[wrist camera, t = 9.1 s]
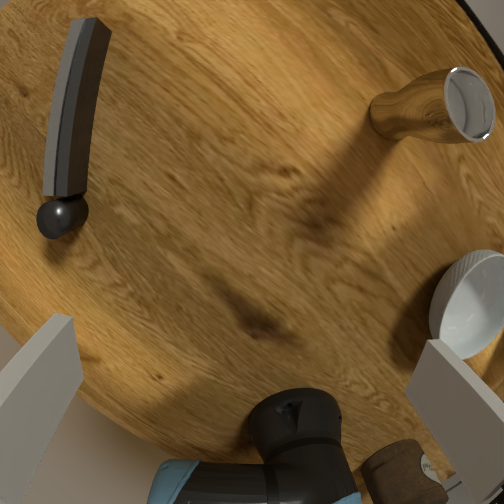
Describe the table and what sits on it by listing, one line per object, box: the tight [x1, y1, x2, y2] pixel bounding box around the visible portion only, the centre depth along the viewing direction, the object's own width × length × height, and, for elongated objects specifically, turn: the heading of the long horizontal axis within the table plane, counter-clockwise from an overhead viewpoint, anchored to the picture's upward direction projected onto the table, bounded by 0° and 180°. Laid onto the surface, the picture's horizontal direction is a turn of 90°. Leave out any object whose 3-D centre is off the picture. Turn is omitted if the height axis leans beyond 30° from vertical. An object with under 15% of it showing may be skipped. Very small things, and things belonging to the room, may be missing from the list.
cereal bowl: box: [429, 250, 504, 360], centre depth 37 cm, size 17×17×7 cm
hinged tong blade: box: [43, 18, 85, 196], centre depth 27 cm, size 20×2×5 cm, turn 171°
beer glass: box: [370, 66, 496, 144], centre depth 25 cm, size 7×7×15 cm
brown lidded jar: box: [361, 439, 449, 504], centre depth 43 cm, size 15×15×22 cm
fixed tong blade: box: [36, 17, 112, 239], centre depth 27 cm, size 24×4×6 cm, turn 172°
